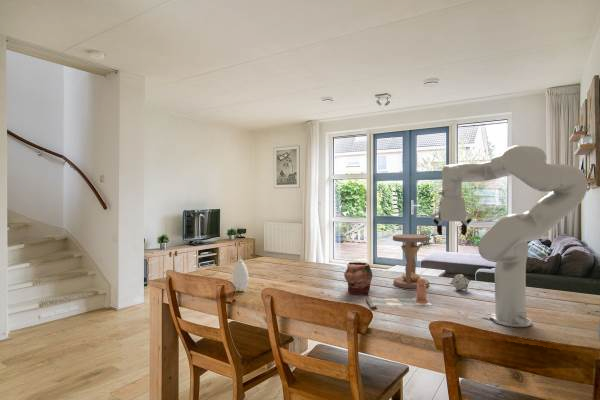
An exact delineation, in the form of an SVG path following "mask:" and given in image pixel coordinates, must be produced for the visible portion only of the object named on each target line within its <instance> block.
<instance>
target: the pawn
mask: <svg viewBox="0 0 600 400" xmlns="http://www.w3.org/2000/svg"><path fill="white" fill-rule="evenodd" d="M424 279H425V278H423V277H420V278H419V279H418V281H417V283H418V285H417V289H416V298H417V299H416V302H418V303H427V302H429V300H428V299H427V288H426V285H425V280H424ZM416 302H415V303H416Z"/></svg>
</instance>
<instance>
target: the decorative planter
mask: <svg viewBox="0 0 600 400" xmlns="http://www.w3.org/2000/svg"><path fill="white" fill-rule="evenodd" d="M346 266H347V267H346V268H347V269H346V270H345V271H344V274H343V275H344V279H345V280H346V283H347V292H348V293H349V294H352V295H353V294H354V295H359V296H360V295H368V294H369V292H370V289H371V285H372V284H371V282H372V279H373V270H372V269H371V267H370V266H371V265H370V263H367V262H358V261H355V262H353V261H350V262H348V263H347V265H346Z"/></svg>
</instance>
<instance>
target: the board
mask: <svg viewBox="0 0 600 400" xmlns="http://www.w3.org/2000/svg"><path fill="white" fill-rule="evenodd" d="M416 299H417V297H416V298H415V297H414V298H409V297H408V298H407V297H406V298H402V297H401V298H371V297H369V298H366V302H367V305H368V306H369V308H370V310H378V307H377V306H417V305H418V306H432V305H433V304H432V303H431V302H430V301H428V302H427V303H418V302H416Z"/></svg>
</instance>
